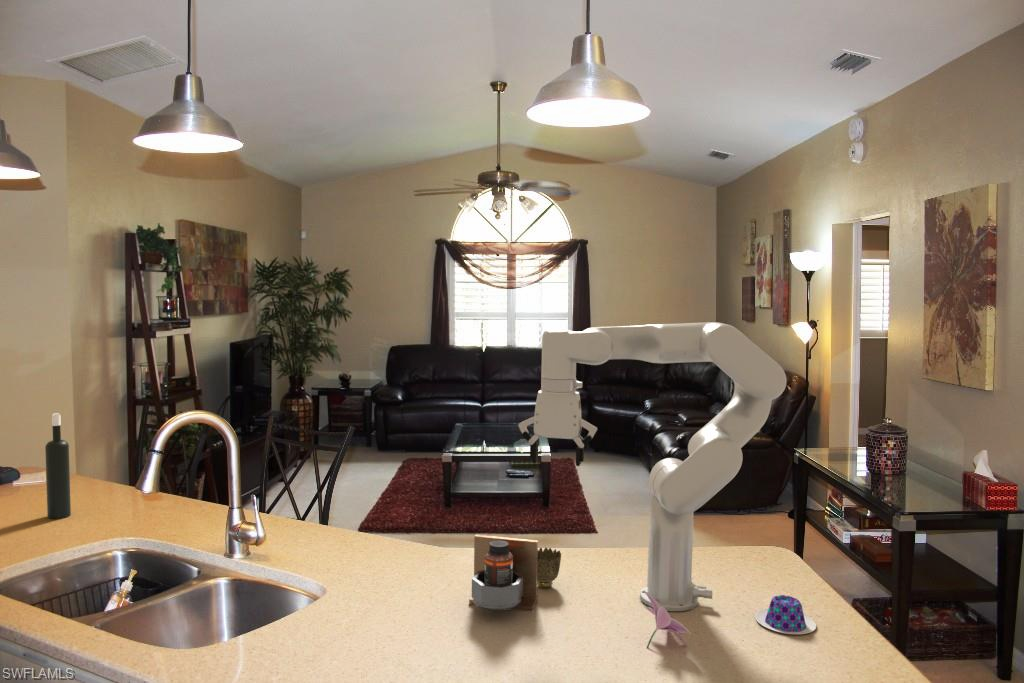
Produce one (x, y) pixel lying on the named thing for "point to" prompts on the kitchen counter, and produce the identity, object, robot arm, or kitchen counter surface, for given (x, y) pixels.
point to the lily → (665, 620)
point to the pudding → (785, 616)
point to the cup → (547, 567)
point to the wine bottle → (57, 473)
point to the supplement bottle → (498, 564)
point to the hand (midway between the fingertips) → (556, 463)
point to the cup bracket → (524, 576)
